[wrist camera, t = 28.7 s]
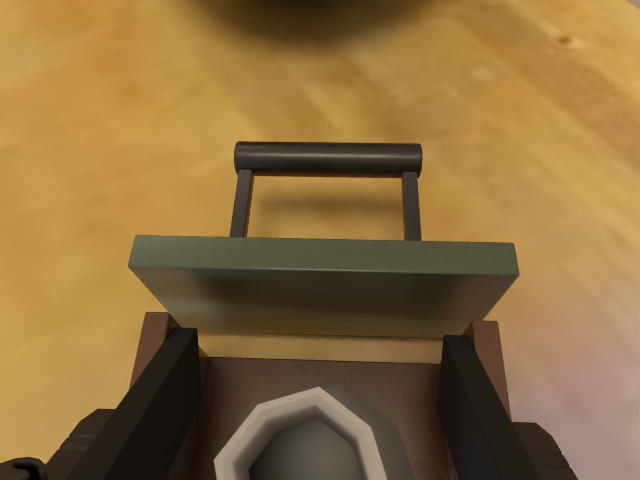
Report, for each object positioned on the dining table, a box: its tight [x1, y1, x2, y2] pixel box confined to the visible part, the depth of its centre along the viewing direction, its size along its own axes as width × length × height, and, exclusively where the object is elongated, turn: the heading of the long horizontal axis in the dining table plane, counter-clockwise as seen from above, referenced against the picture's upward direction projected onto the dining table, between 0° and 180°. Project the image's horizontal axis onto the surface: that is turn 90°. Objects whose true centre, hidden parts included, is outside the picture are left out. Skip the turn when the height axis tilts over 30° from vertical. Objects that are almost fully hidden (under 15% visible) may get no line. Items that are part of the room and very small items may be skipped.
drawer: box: [128, 141, 519, 480], centre depth 17 cm, size 22×13×7 cm, turn 178°
